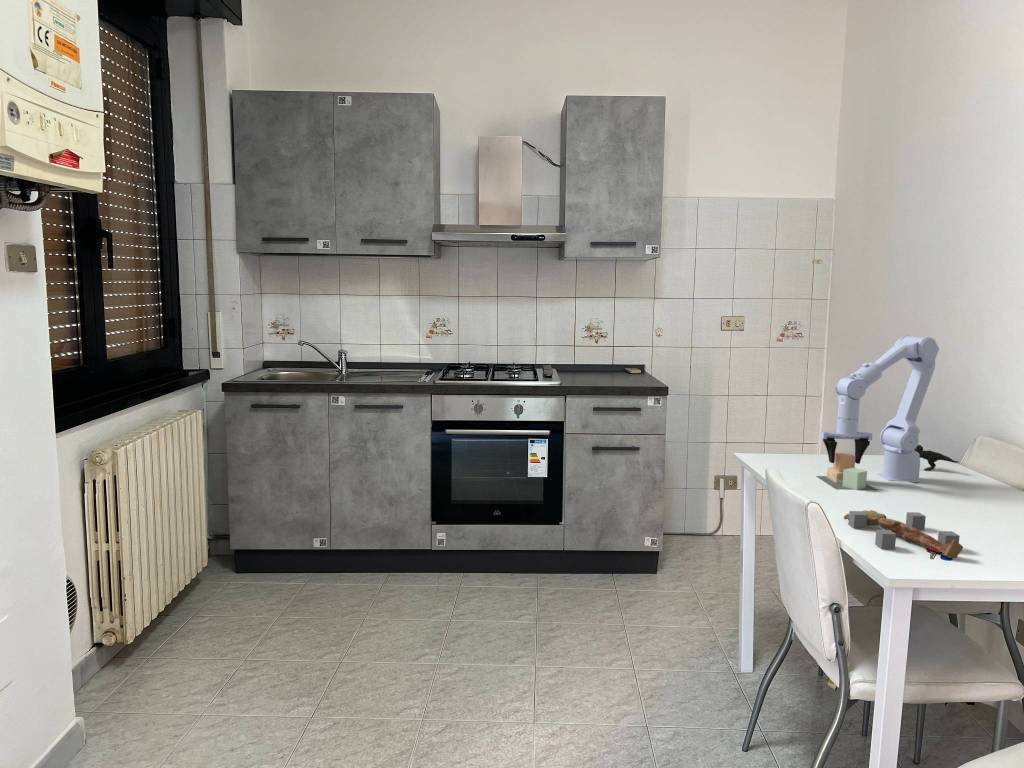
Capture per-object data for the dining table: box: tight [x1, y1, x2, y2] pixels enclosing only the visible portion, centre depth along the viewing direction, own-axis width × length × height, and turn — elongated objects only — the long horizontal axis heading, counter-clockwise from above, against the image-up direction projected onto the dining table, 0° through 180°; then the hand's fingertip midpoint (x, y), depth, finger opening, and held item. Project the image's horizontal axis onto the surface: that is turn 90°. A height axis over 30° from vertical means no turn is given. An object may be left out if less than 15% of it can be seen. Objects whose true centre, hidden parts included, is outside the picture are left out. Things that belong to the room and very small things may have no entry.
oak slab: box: [826, 467, 843, 483], centre depth 223 cm, size 7×7×3 cm
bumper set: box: [847, 510, 960, 550], centre depth 173 cm, size 17×17×4 cm
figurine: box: [843, 509, 964, 558], centre depth 173 cm, size 8×6×30 cm
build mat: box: [815, 475, 878, 491], centre depth 220 cm, size 12×15×1 cm
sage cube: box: [842, 467, 868, 491], centre depth 215 cm, size 4×4×5 cm
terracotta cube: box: [832, 451, 856, 472], centre depth 222 cm, size 4×4×5 cm
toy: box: [913, 444, 960, 472], centre depth 238 cm, size 5×15×8 cm, turn 39°
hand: (844, 462), depth 222 cm, fingers open, 7 cm apart
